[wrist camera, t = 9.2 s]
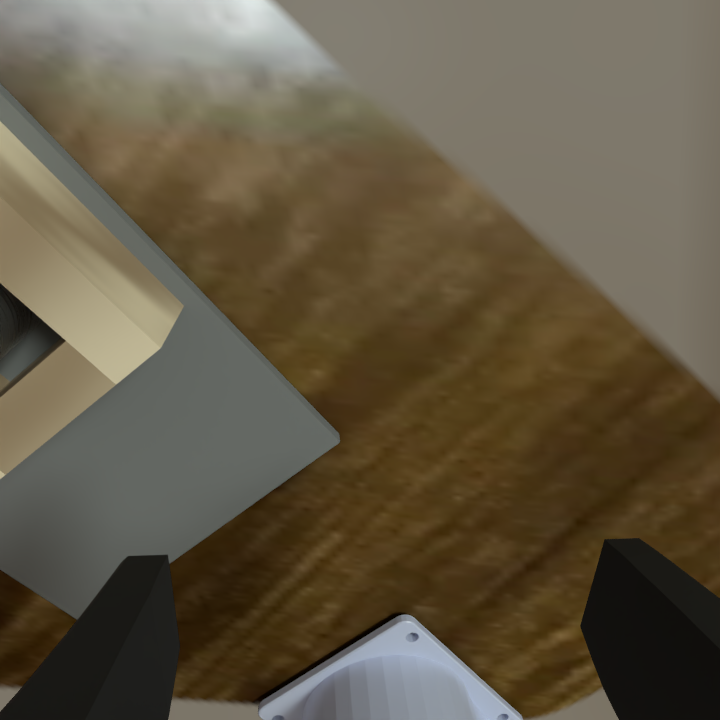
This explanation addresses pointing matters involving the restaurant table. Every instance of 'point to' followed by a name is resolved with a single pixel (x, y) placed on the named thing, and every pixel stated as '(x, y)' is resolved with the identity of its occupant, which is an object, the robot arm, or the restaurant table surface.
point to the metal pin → (14, 321)
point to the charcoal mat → (146, 430)
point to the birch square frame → (68, 303)
